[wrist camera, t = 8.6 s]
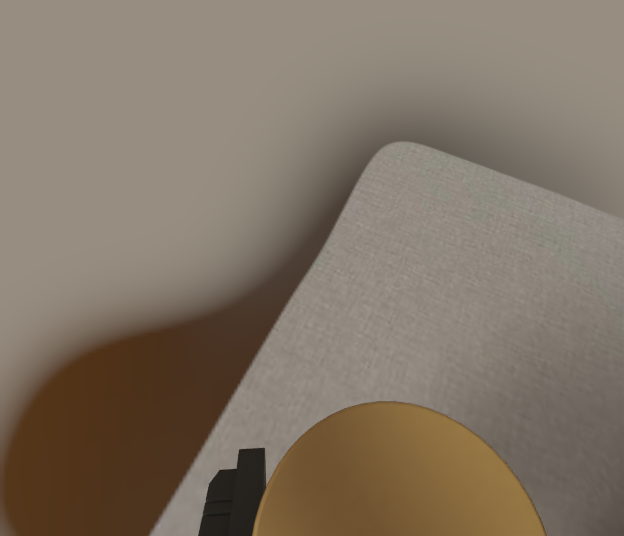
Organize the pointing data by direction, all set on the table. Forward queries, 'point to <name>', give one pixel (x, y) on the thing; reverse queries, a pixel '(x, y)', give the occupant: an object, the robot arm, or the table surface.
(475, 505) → the spice jar
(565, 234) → the table surface
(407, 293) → the table surface
